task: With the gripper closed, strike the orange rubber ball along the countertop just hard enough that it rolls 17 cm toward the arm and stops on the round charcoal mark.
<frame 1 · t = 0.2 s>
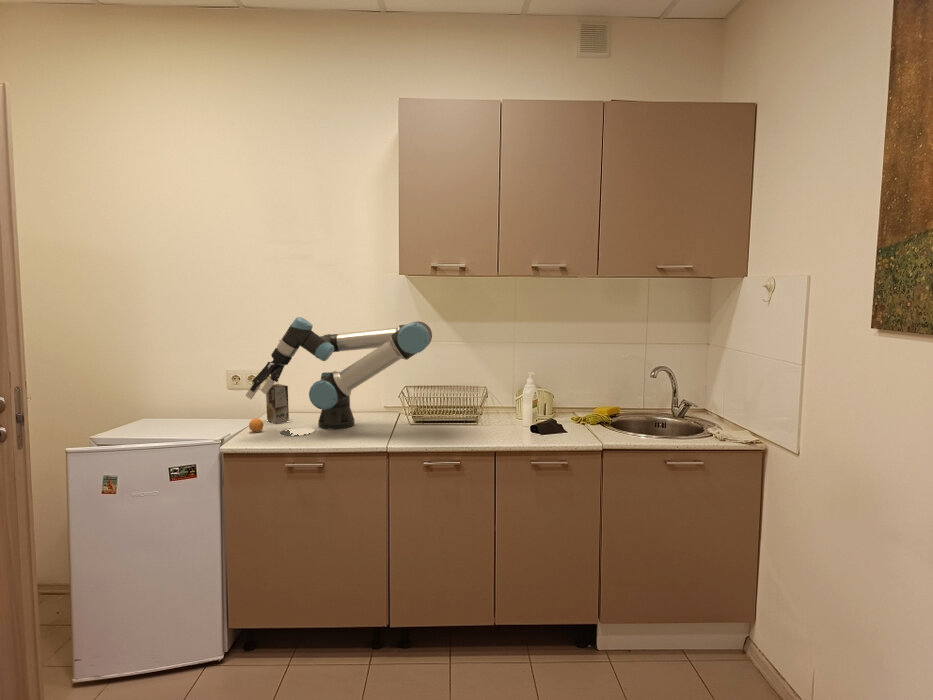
hand: (256, 394, 236), 16 cm above the worktop, tool tilted 35°, fingers open, 13 cm apart
coffee box: (278, 422, 258), on the worktop
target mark: (297, 432, 238), on the worktop
ball: (256, 425, 238), on the worktop
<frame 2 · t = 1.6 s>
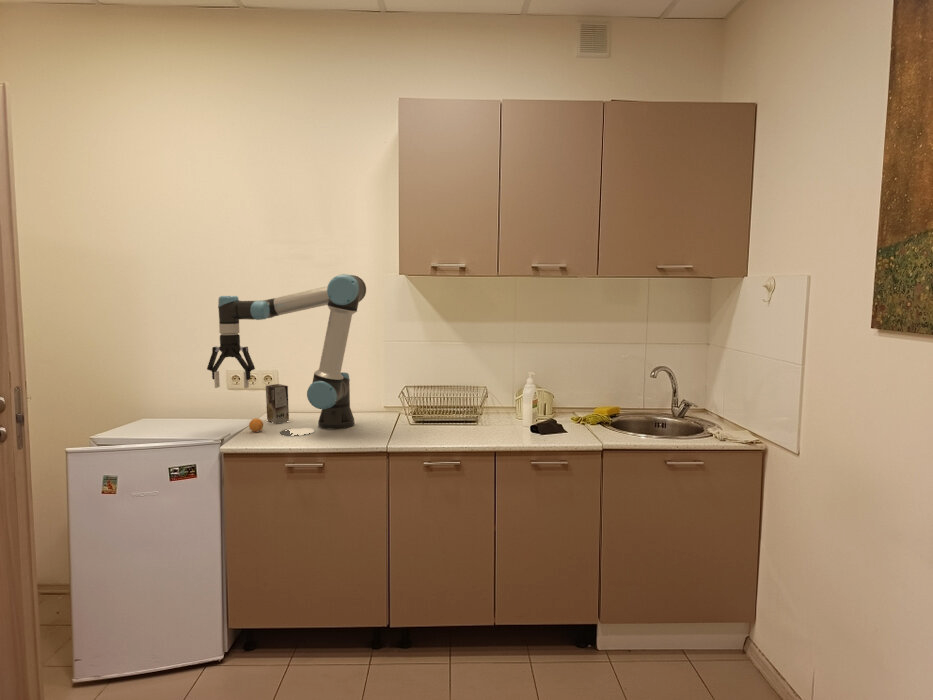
hand: (231, 387, 237), 18 cm above the worktop, tool pointing down, fingers open, 11 cm apart
nothing on the worktop moved.
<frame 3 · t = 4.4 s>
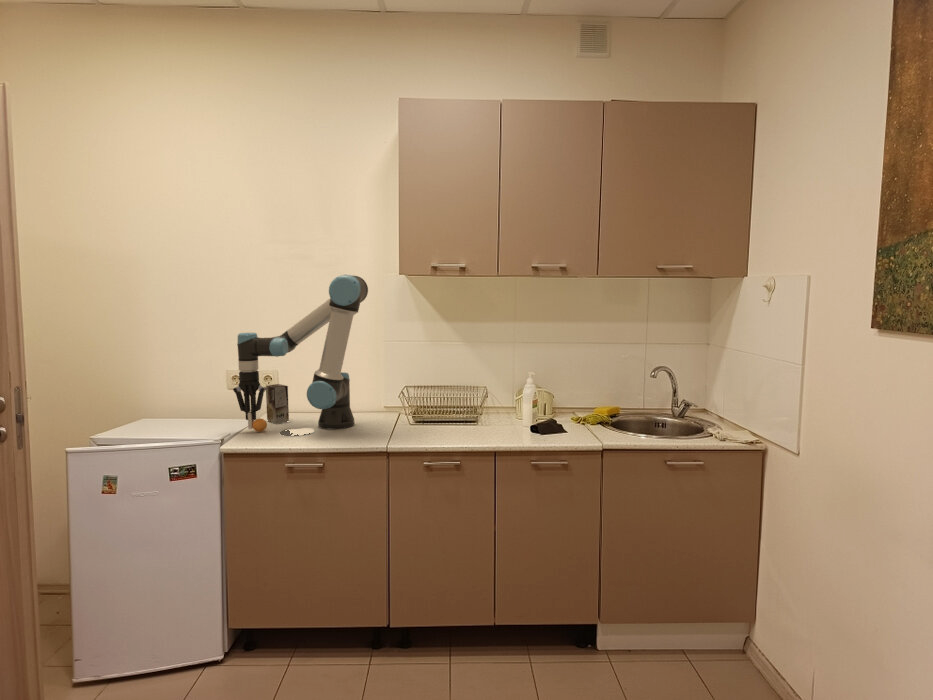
hand: (251, 427, 239), 2 cm above the worktop, tool pointing down, fingers closed
ball: (259, 425, 238), on the worktop
everything else where it was.
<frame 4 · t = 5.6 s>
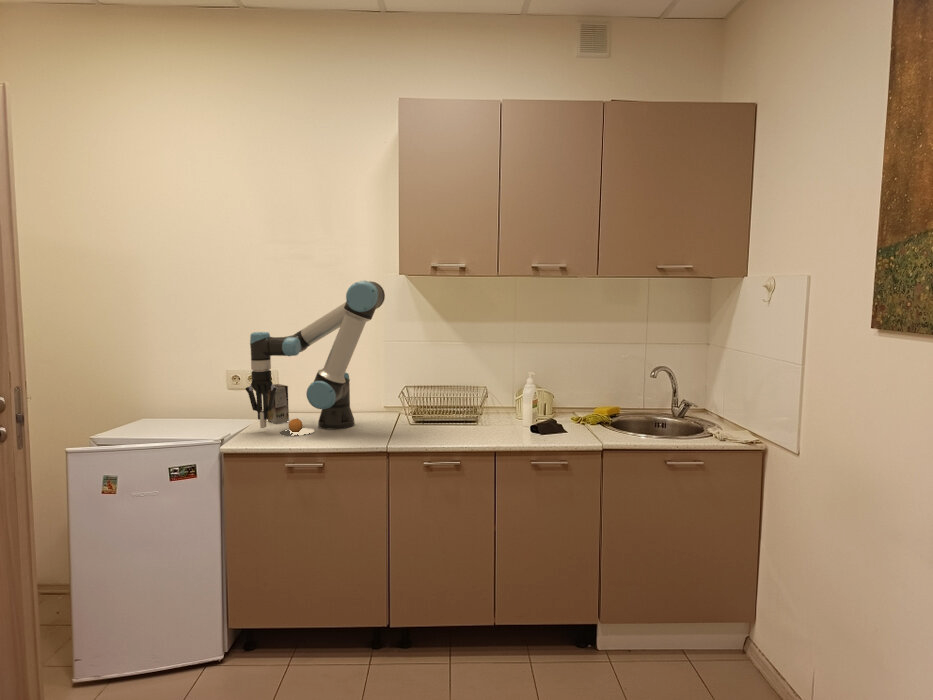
hand: (263, 427, 238), 2 cm above the worktop, tool pointing down, fingers closed
ball: (295, 425, 238), on the worktop
everything else where it was.
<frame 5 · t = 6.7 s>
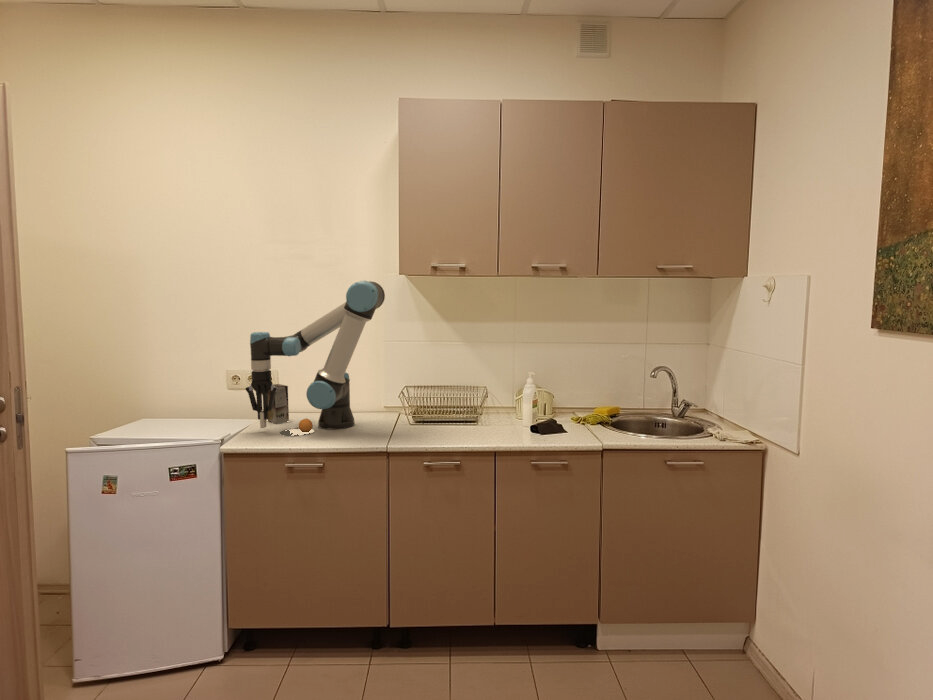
hand: (263, 427, 238), 2 cm above the worktop, tool pointing down, fingers closed
ball: (305, 425, 238), on the worktop
everything else where it was.
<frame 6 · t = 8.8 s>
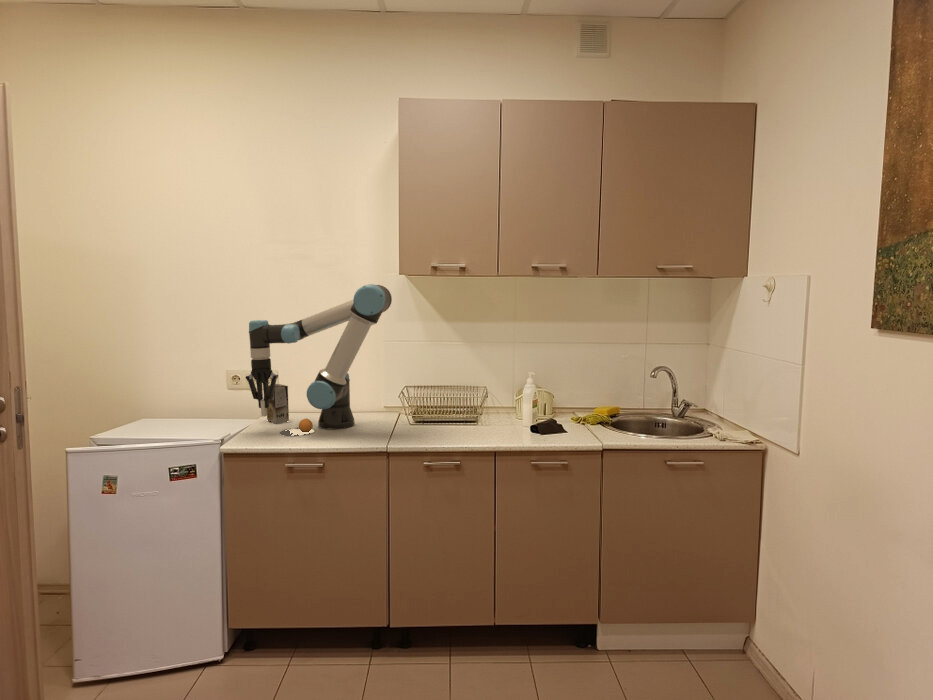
hand: (264, 415, 238), 7 cm above the worktop, tool pointing down, fingers closed
nothing on the worktop moved.
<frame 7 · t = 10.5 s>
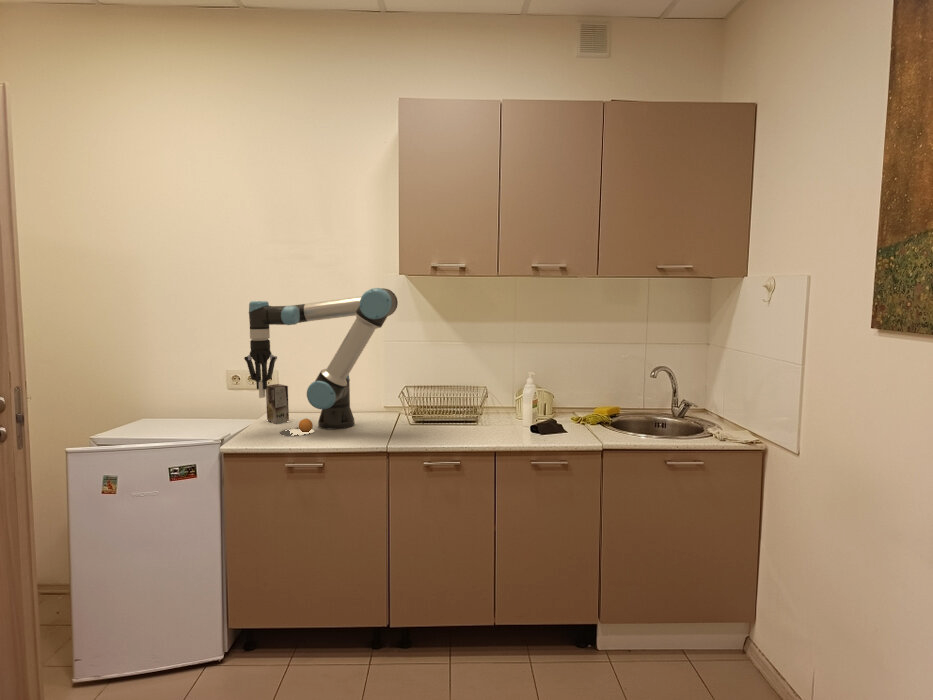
hand: (262, 397, 237), 14 cm above the worktop, tool pointing down, fingers closed
nothing on the worktop moved.
at the end: ball 3.5 cm from the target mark (horizontally); ball at rest at the end (0.0 cm/s); ball moved 20.5 cm from its start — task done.
